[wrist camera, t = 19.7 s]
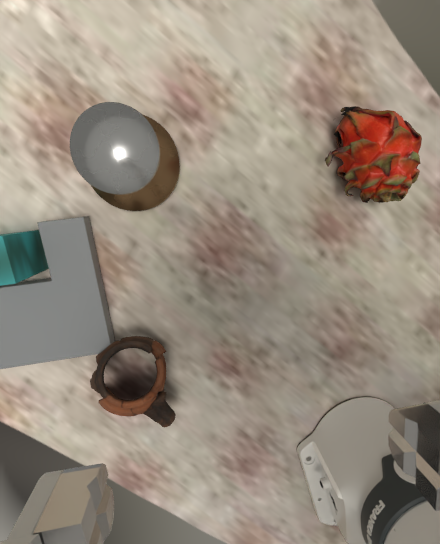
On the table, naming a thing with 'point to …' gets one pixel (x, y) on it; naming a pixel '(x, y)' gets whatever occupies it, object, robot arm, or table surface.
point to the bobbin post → (124, 156)
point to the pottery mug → (147, 404)
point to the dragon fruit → (377, 153)
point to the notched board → (57, 302)
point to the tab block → (21, 256)
